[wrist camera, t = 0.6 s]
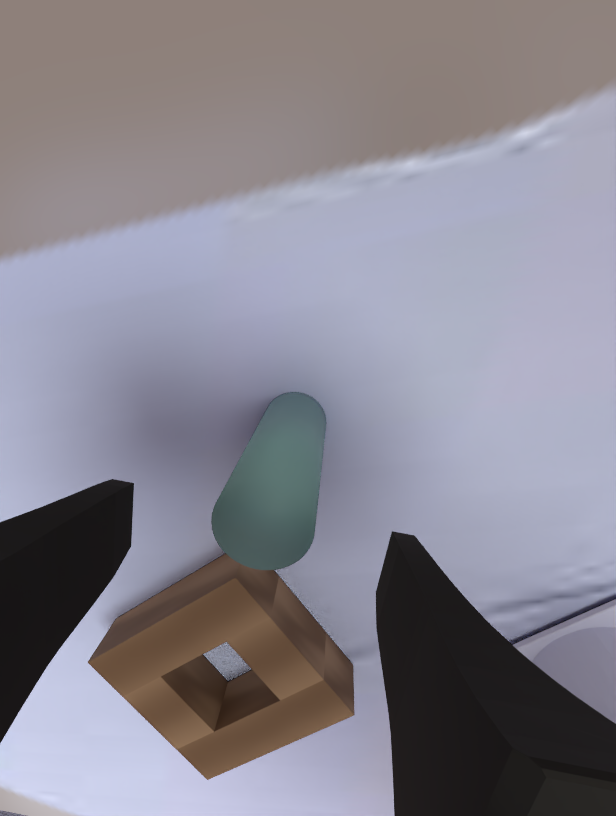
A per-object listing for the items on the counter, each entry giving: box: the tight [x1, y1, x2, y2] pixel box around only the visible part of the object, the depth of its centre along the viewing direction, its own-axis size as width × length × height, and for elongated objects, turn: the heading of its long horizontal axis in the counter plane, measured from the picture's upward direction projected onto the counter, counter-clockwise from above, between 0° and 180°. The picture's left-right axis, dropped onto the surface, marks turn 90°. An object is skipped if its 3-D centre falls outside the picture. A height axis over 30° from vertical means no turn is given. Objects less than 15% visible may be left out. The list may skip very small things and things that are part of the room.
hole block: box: [88, 554, 354, 780], centre depth 24 cm, size 10×10×3 cm
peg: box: [211, 392, 326, 570], centre depth 17 cm, size 3×3×9 cm
